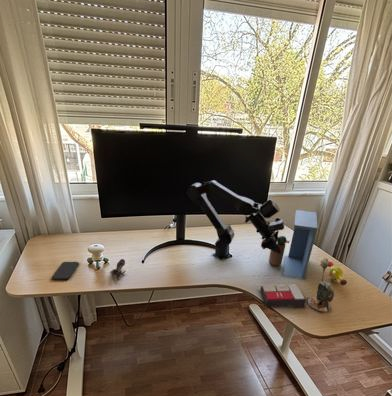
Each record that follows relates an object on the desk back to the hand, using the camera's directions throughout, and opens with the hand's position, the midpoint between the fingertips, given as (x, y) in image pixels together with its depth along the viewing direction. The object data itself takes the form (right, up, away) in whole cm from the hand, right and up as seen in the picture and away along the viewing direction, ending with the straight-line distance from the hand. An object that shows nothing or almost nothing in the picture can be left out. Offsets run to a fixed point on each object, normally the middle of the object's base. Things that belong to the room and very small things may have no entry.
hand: (280, 250), depth 136 cm
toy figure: (+22, -15, -6) cm, 27 cm away
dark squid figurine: (-73, -12, -7) cm, 74 cm away
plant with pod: (+8, -25, -23) cm, 35 cm away
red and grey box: (-5, -22, -19) cm, 30 cm away
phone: (-97, -10, -6) cm, 98 cm away
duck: (-2, -5, +4) cm, 7 cm away
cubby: (+8, -8, +4) cm, 11 cm away
